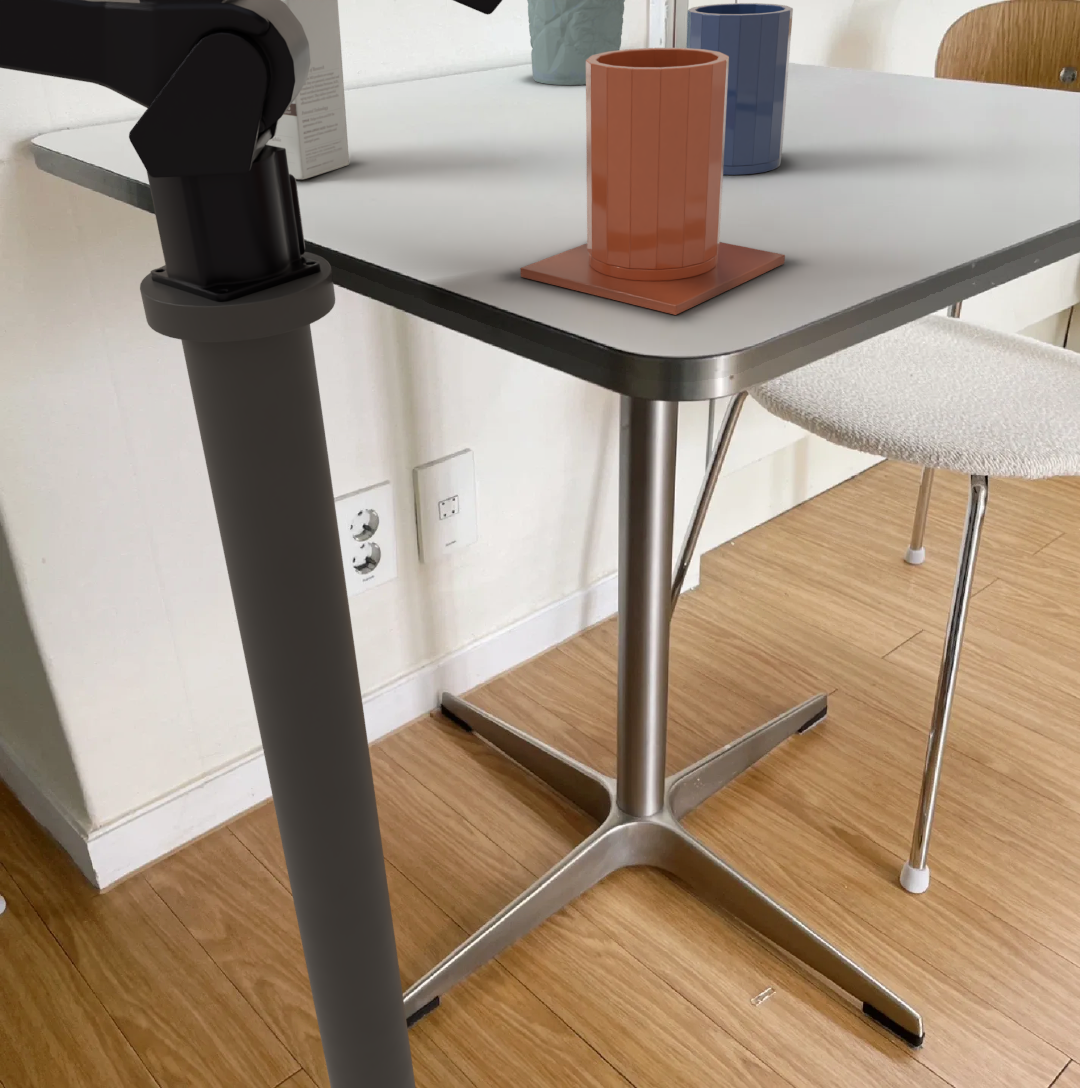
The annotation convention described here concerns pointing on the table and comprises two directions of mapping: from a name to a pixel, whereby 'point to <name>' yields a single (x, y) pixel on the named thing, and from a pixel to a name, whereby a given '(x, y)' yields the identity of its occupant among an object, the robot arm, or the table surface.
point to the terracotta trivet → (655, 295)
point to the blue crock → (749, 77)
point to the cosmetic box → (316, 97)
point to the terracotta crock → (655, 161)
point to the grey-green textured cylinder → (571, 36)
